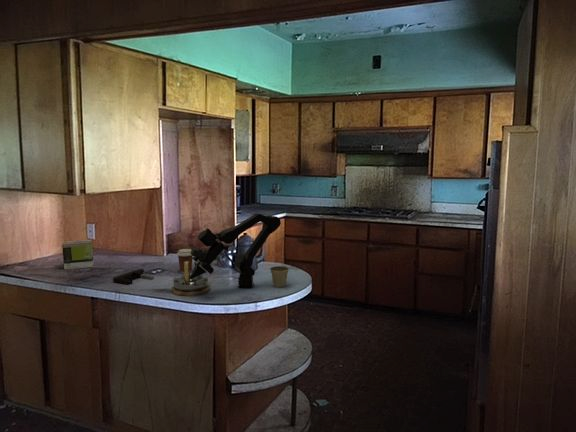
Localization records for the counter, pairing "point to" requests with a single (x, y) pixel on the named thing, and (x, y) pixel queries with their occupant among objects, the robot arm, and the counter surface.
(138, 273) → the door handle
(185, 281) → the ring nut
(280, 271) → the flower pot
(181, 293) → the base
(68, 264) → the tea box
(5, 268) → the counter surface
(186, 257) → the coffee cup
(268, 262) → the counter surface
